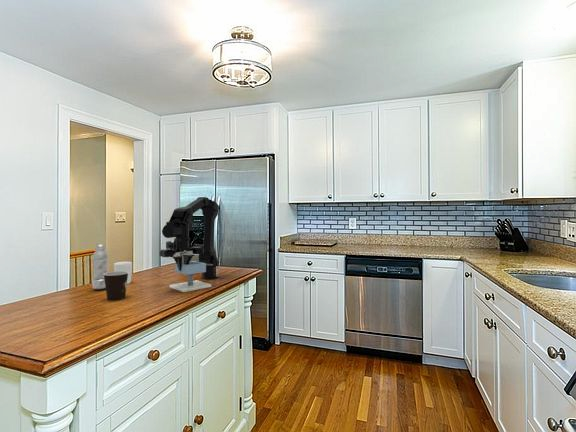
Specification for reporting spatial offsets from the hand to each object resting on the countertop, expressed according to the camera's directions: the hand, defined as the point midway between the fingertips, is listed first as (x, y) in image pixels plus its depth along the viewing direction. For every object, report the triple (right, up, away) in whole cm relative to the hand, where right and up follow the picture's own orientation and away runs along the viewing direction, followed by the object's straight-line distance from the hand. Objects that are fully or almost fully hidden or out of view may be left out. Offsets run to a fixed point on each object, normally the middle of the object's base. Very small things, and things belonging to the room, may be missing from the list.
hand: (182, 270), depth 142 cm
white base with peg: (+3, -8, +3) cm, 9 cm away
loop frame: (+3, -1, +3) cm, 4 cm away
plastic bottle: (-36, -8, -1) cm, 37 cm away
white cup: (-32, -8, +10) cm, 35 cm away
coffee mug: (-21, -8, -15) cm, 27 cm away
